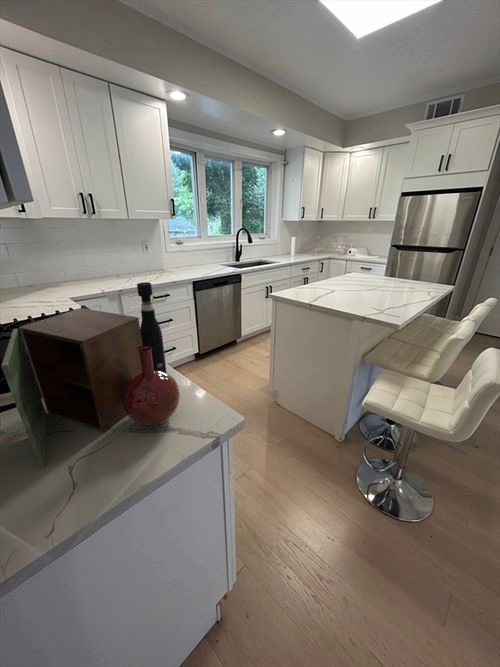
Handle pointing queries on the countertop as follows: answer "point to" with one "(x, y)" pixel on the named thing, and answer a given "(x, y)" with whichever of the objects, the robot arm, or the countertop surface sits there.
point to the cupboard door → (23, 399)
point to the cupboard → (84, 364)
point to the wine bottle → (151, 327)
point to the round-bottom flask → (150, 393)
